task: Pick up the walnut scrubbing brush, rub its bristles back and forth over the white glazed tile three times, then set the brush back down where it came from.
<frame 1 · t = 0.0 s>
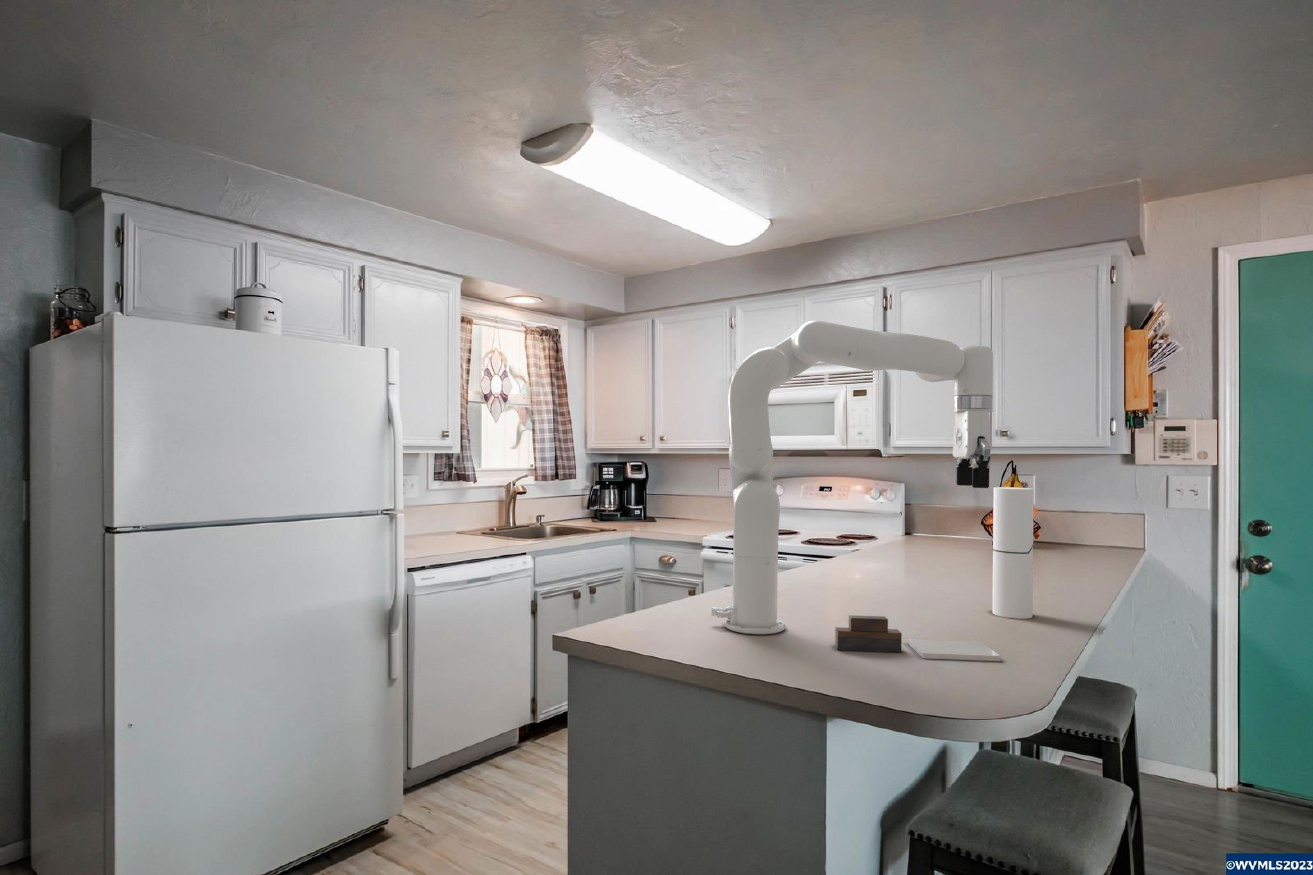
hand: (972, 486, 156), 31 cm above the worktop, tool pointing down, fingers open, 9 cm apart
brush: (867, 649, 143), on the worktop
container: (1012, 615, 176), on the worktop
tile: (952, 652, 142), on the worktop
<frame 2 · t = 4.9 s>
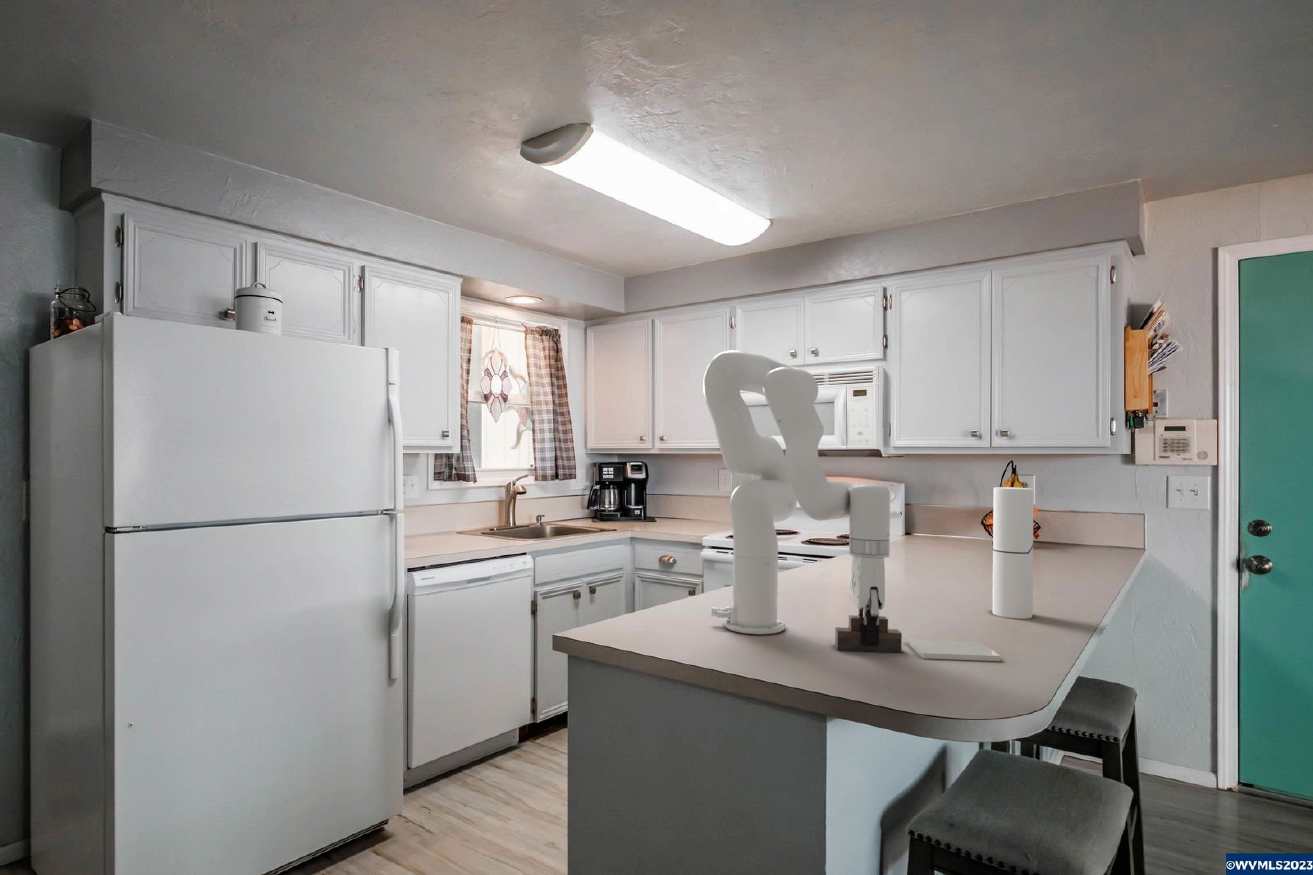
hand: (867, 642, 143), 1 cm above the worktop, tool pointing down, fingers closed on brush, 3 cm apart
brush: (867, 649, 143), on the worktop, touching gripper
everything else where it was.
when the fingers open (1 cm above the worktop, at t = 18.1 s): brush stays where it is, on the worktop.
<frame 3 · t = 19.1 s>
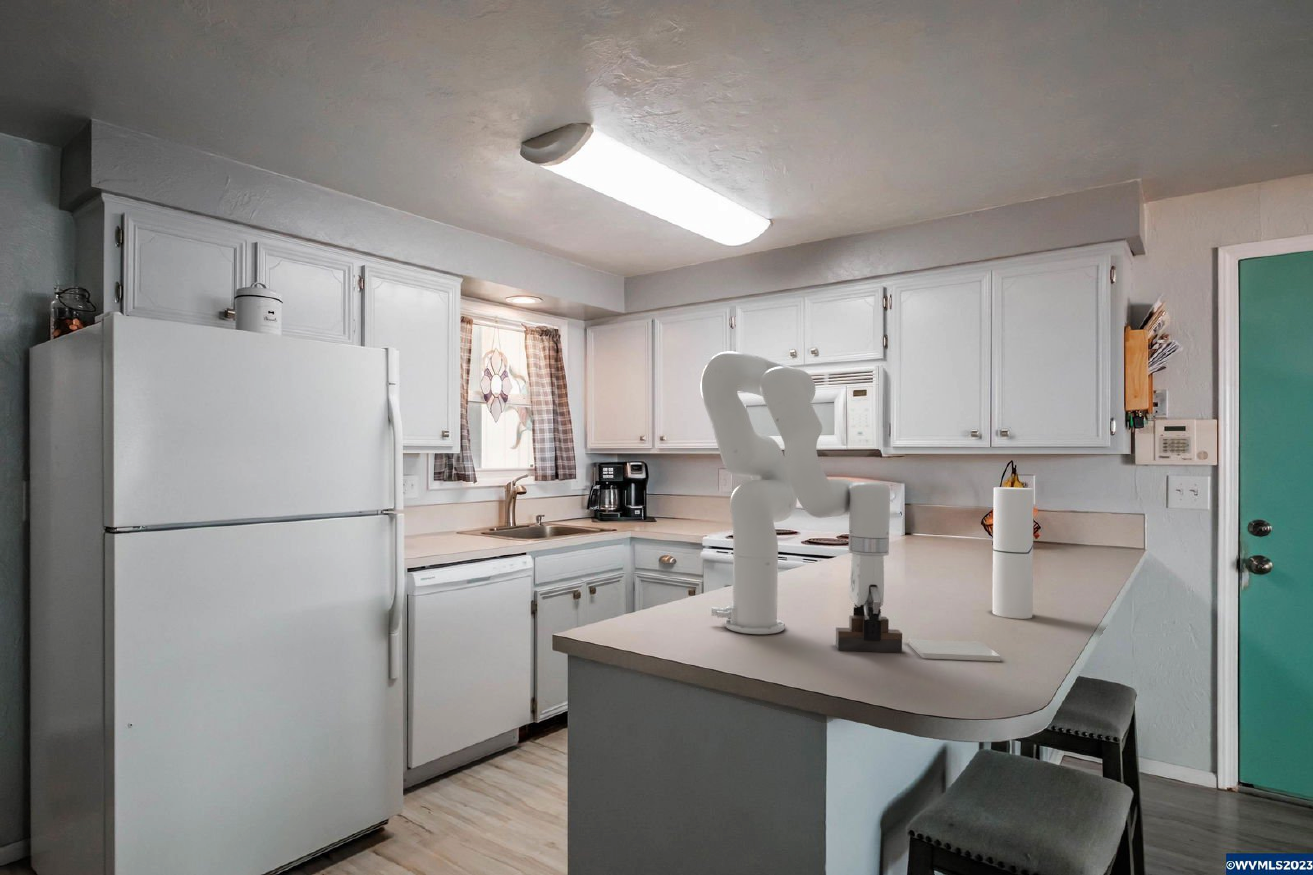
hand: (866, 633, 143), 3 cm above the worktop, tool pointing down, fingers open, 9 cm apart
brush: (868, 649, 143), on the worktop
everything else where it was.
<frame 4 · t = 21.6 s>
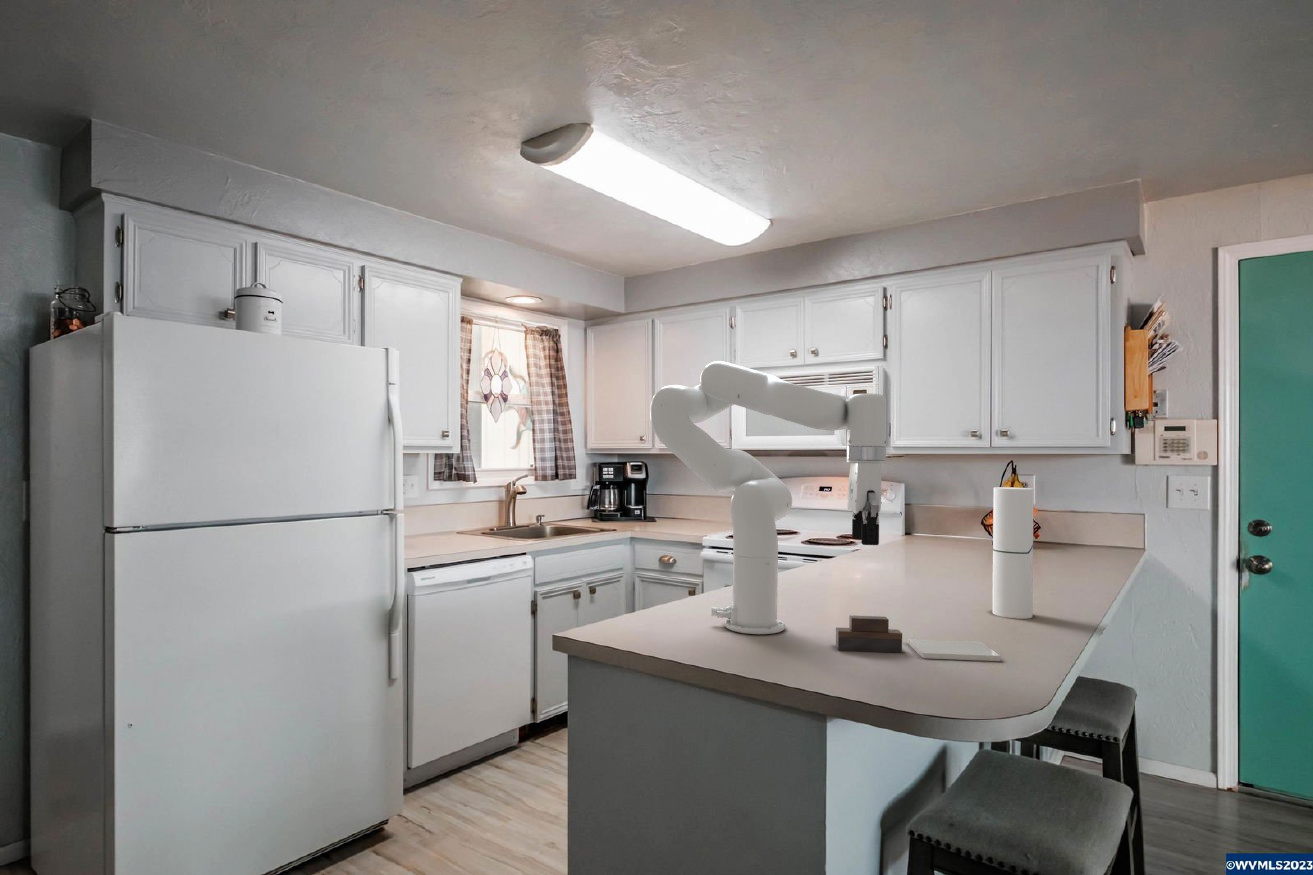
hand: (864, 541, 147), 20 cm above the worktop, tool pointing down, fingers open, 9 cm apart
nothing on the worktop moved.
at the end: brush inside the target area (0.1 cm from its centre), on the worktop; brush tilted 0°; tile moved 0.0 cm from its start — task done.
